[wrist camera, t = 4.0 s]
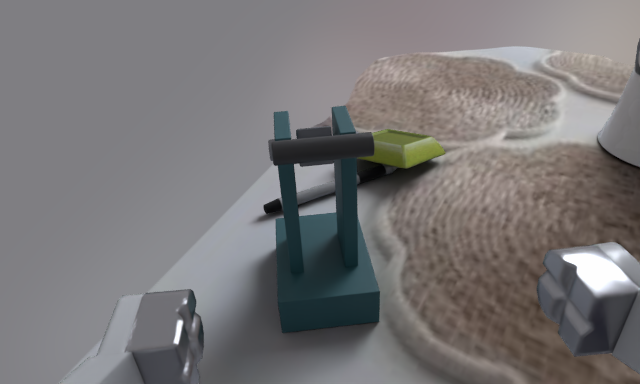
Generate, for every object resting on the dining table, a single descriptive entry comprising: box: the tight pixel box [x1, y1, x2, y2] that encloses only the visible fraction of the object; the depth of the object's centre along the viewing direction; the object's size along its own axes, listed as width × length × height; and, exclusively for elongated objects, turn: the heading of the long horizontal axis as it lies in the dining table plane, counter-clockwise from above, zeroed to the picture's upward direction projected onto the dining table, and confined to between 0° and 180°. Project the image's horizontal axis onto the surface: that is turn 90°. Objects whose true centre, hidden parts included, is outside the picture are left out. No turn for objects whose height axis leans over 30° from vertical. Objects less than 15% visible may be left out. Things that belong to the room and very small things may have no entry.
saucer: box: [358, 129, 445, 168], centre depth 52 cm, size 9×9×2 cm
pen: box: [264, 164, 397, 214], centre depth 48 cm, size 1×16×1 cm, turn 119°
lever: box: [271, 126, 375, 167], centre depth 27 cm, size 10×5×2 cm, turn 5°
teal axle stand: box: [268, 106, 380, 333], centre depth 33 cm, size 10×7×14 cm
